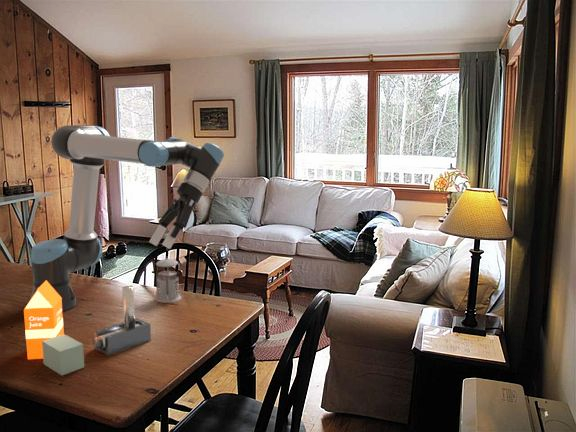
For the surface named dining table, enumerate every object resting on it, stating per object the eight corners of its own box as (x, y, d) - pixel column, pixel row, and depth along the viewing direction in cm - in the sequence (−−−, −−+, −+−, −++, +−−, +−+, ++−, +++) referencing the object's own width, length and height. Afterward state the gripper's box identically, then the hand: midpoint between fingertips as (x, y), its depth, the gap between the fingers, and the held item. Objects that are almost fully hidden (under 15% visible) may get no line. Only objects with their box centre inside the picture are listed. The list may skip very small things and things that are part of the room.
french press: (182, 293, 197) (180, 230, 193) (180, 303, 185) (179, 237, 181) (156, 294, 195) (153, 231, 191) (153, 304, 184) (151, 237, 180)
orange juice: (27, 359, 140) (21, 290, 136) (37, 346, 148) (32, 280, 145) (57, 357, 141) (52, 288, 137) (65, 344, 149) (61, 279, 146)
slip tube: (135, 333, 155) (133, 283, 152) (142, 336, 153) (140, 286, 150) (93, 348, 144) (90, 295, 142) (99, 351, 142) (97, 297, 139)
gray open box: (136, 333, 158) (136, 318, 157) (150, 340, 153) (150, 323, 152) (94, 348, 147) (93, 331, 146) (108, 355, 142) (107, 338, 141)
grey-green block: (65, 356, 142) (64, 334, 141) (84, 367, 135) (82, 344, 134) (43, 364, 137) (41, 341, 136) (61, 375, 131) (60, 351, 130)
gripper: (217, 192, 153) (182, 254, 147) (188, 194, 174) (157, 248, 169) (197, 179, 149) (161, 241, 144) (170, 182, 171) (138, 237, 165)
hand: (159, 245), depth 156 cm, fingers open, 13 cm apart
